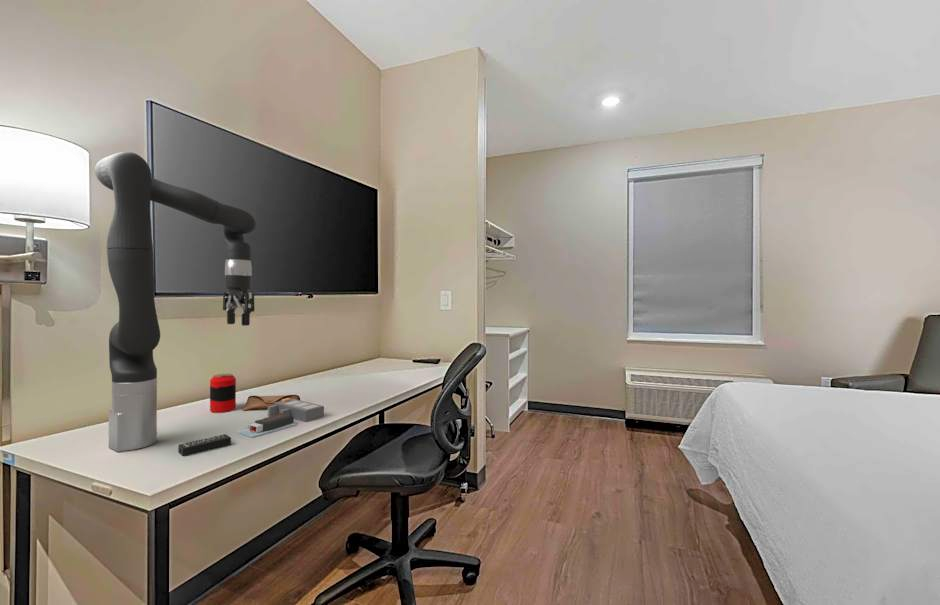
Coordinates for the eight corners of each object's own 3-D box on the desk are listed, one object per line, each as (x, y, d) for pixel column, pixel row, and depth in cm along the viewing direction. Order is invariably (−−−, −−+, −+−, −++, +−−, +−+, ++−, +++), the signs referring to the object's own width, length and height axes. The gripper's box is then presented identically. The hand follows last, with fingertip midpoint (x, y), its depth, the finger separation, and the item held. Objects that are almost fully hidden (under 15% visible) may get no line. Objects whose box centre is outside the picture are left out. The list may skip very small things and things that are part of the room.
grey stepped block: (297, 424, 128) (297, 410, 128) (265, 415, 137) (265, 402, 137) (323, 416, 136) (324, 403, 136) (292, 408, 145) (292, 396, 145)
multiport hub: (231, 446, 110) (231, 437, 110) (182, 458, 102) (182, 448, 102) (225, 442, 113) (225, 433, 113) (177, 453, 105) (177, 444, 105)
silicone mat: (252, 438, 115) (252, 436, 115) (238, 433, 119) (238, 431, 119) (296, 425, 127) (296, 423, 127) (282, 421, 131) (282, 419, 131)
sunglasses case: (239, 411, 141) (243, 392, 144) (245, 416, 147) (248, 398, 150) (296, 409, 145) (298, 390, 148) (299, 414, 151) (301, 396, 154)
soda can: (212, 414, 137) (213, 378, 137) (207, 409, 143) (207, 374, 142) (238, 410, 142) (238, 375, 142) (232, 405, 148) (232, 372, 148)
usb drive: (293, 422, 128) (293, 413, 128) (259, 434, 118) (259, 424, 118) (282, 420, 131) (282, 411, 131) (246, 431, 120) (246, 421, 120)
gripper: (214, 274, 134) (214, 324, 134) (238, 273, 126) (238, 326, 126) (238, 275, 140) (237, 323, 140) (262, 274, 132) (262, 325, 133)
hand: (238, 324), depth 133 cm, fingers open, 8 cm apart
